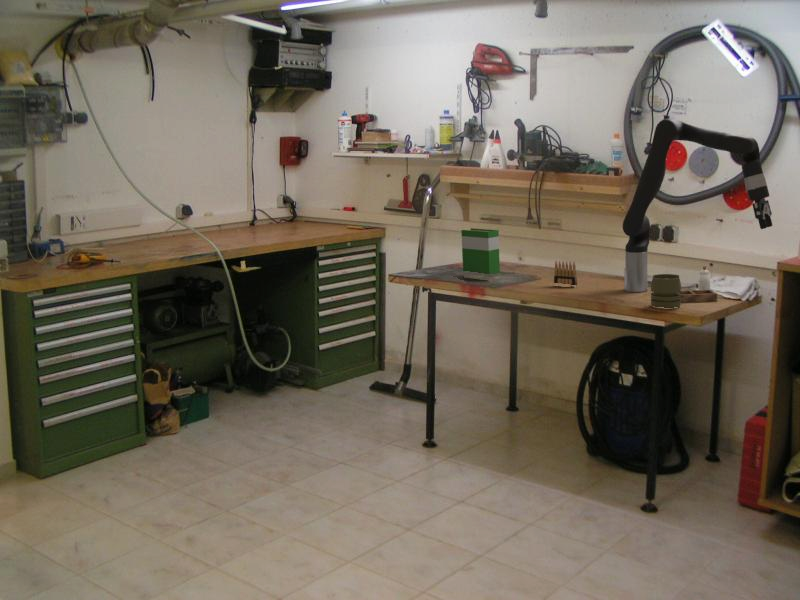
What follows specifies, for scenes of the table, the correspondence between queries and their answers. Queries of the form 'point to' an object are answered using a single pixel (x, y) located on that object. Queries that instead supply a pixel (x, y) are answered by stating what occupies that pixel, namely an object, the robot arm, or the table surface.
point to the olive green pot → (666, 291)
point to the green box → (480, 251)
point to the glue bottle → (704, 279)
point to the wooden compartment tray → (698, 296)
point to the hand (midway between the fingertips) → (766, 227)
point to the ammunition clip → (565, 273)
